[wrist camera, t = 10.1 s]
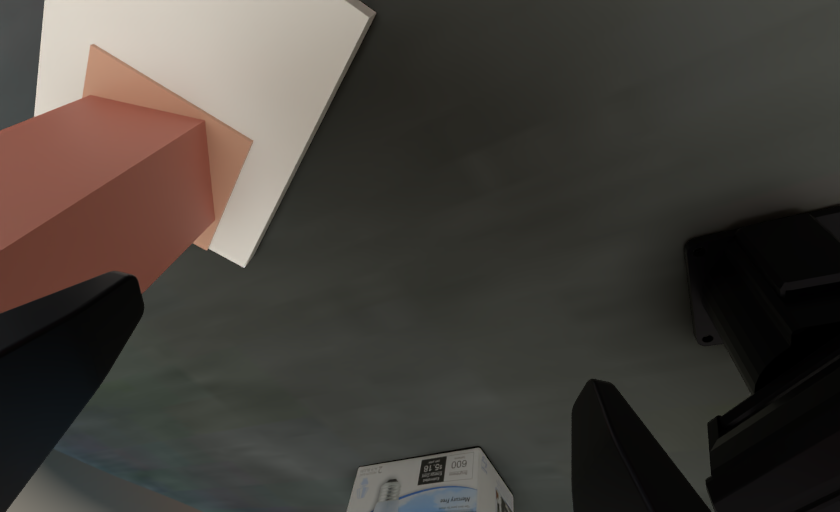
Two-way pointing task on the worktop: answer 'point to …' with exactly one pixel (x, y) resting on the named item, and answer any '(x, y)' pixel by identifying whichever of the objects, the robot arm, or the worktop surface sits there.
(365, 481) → the light bulb box
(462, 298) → the worktop surface
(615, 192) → the worktop surface
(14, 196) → the block
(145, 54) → the board
